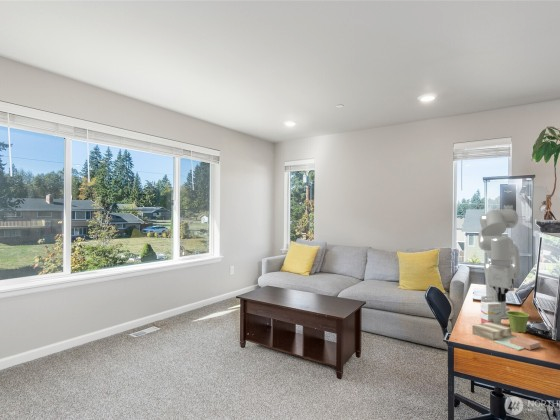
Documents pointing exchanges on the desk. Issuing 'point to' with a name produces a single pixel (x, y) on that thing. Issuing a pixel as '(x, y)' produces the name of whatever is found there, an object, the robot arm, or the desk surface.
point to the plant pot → (518, 321)
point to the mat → (508, 343)
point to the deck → (491, 331)
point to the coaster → (525, 342)
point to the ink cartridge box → (490, 310)
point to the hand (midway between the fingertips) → (501, 301)
